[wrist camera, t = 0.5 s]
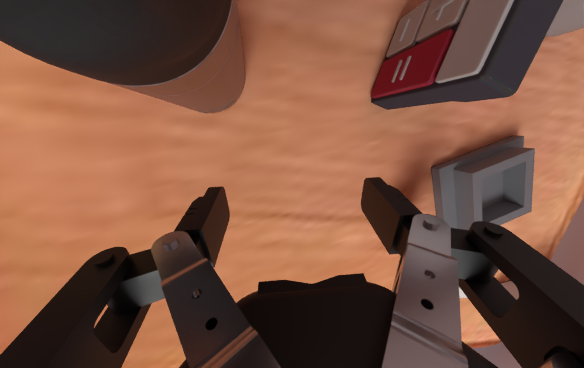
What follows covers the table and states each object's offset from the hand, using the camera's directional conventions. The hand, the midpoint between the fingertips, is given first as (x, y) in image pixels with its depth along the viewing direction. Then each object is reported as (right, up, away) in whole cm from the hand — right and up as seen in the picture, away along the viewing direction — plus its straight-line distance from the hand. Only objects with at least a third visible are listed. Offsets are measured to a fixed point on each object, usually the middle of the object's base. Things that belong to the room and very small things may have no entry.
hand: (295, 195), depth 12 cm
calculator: (+14, +17, +17) cm, 27 cm away
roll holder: (+32, 0, +25) cm, 40 cm away
